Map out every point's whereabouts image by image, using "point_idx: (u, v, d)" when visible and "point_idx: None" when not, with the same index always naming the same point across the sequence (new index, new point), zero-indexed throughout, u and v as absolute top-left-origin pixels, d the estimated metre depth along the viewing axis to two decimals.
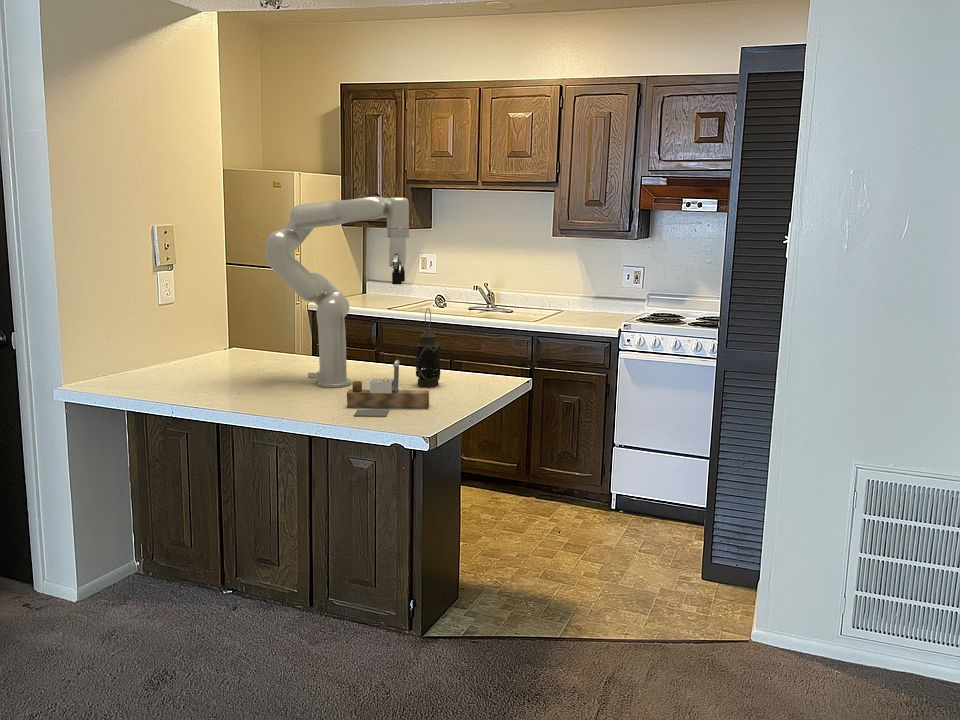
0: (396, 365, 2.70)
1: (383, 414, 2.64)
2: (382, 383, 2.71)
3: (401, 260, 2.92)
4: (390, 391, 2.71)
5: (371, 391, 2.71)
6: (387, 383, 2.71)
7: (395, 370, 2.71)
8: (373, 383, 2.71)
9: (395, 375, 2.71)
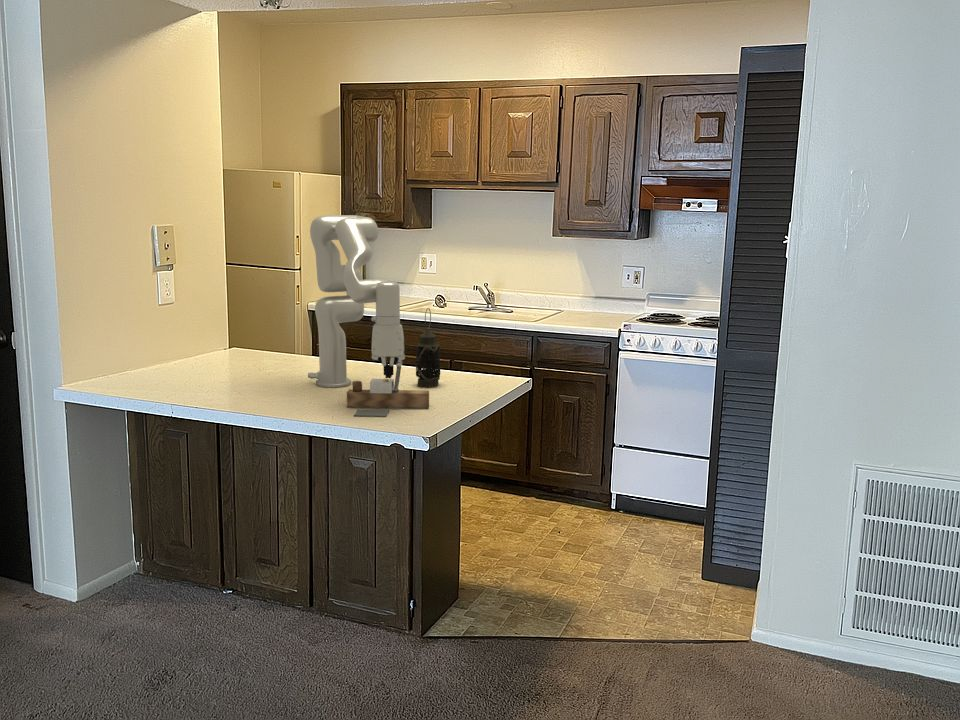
0: (399, 365, 2.70)
1: (383, 414, 2.64)
2: (382, 383, 2.71)
3: None
4: (390, 391, 2.71)
5: (371, 391, 2.71)
6: (387, 383, 2.71)
7: (397, 370, 2.71)
8: (373, 383, 2.71)
9: (396, 375, 2.71)
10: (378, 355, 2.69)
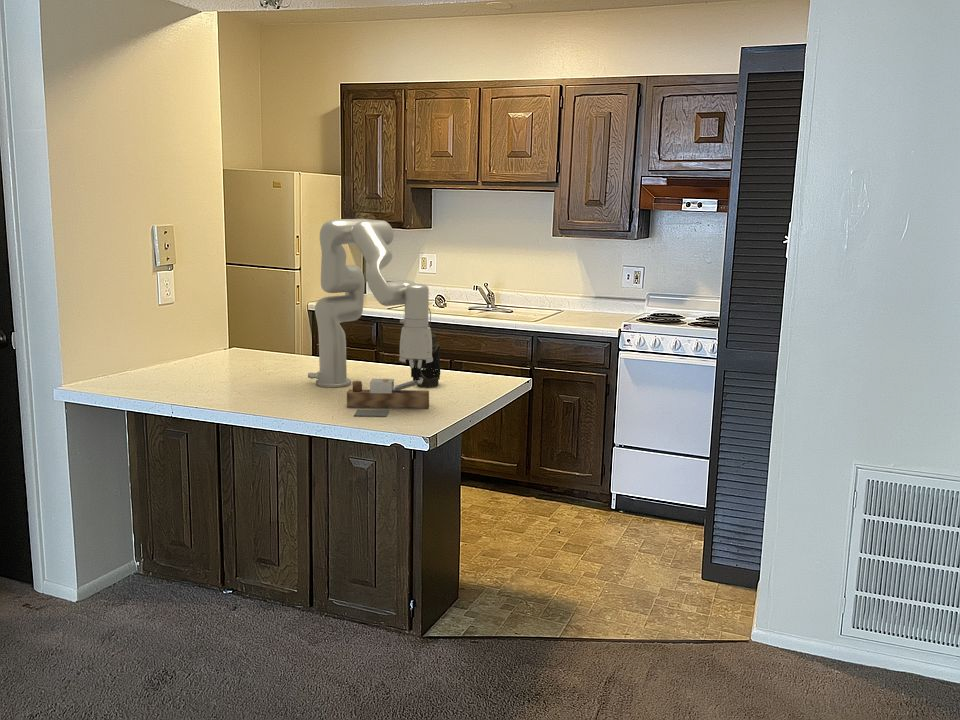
0: (419, 383, 2.71)
1: (383, 414, 2.64)
2: (382, 383, 2.71)
3: None
4: (390, 391, 2.71)
5: (371, 391, 2.71)
6: (387, 383, 2.71)
7: (413, 383, 2.71)
8: (373, 383, 2.71)
9: (408, 385, 2.71)
10: (406, 357, 2.69)
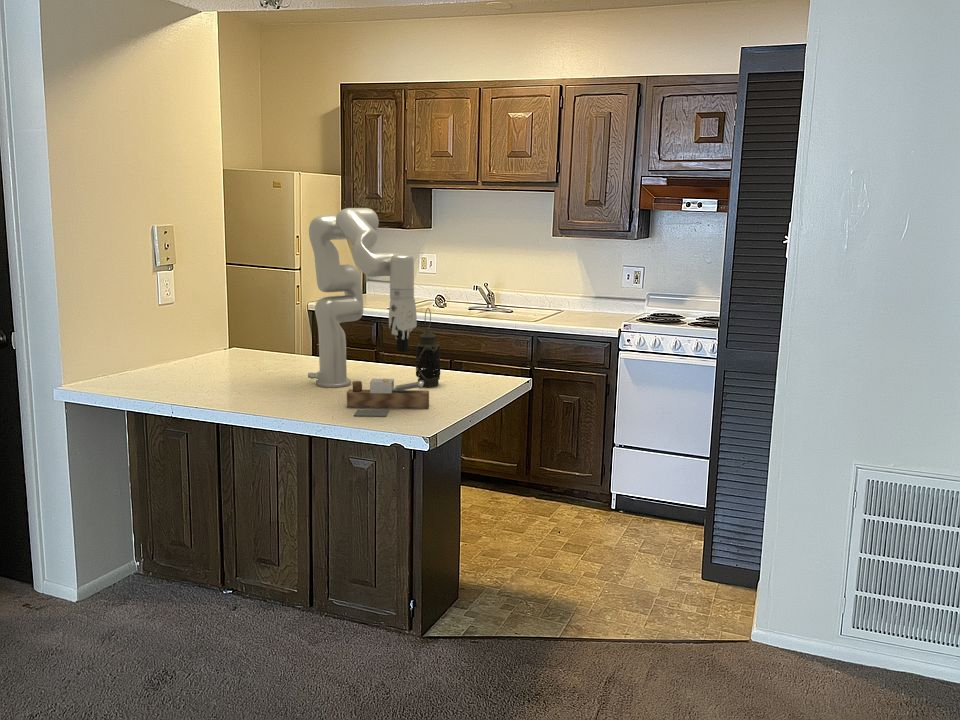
0: (419, 386, 2.71)
1: (383, 414, 2.64)
2: (382, 383, 2.71)
3: None
4: (390, 391, 2.71)
5: (371, 391, 2.71)
6: (387, 383, 2.71)
7: (414, 386, 2.71)
8: (373, 383, 2.71)
9: (409, 387, 2.71)
10: (405, 329, 2.66)
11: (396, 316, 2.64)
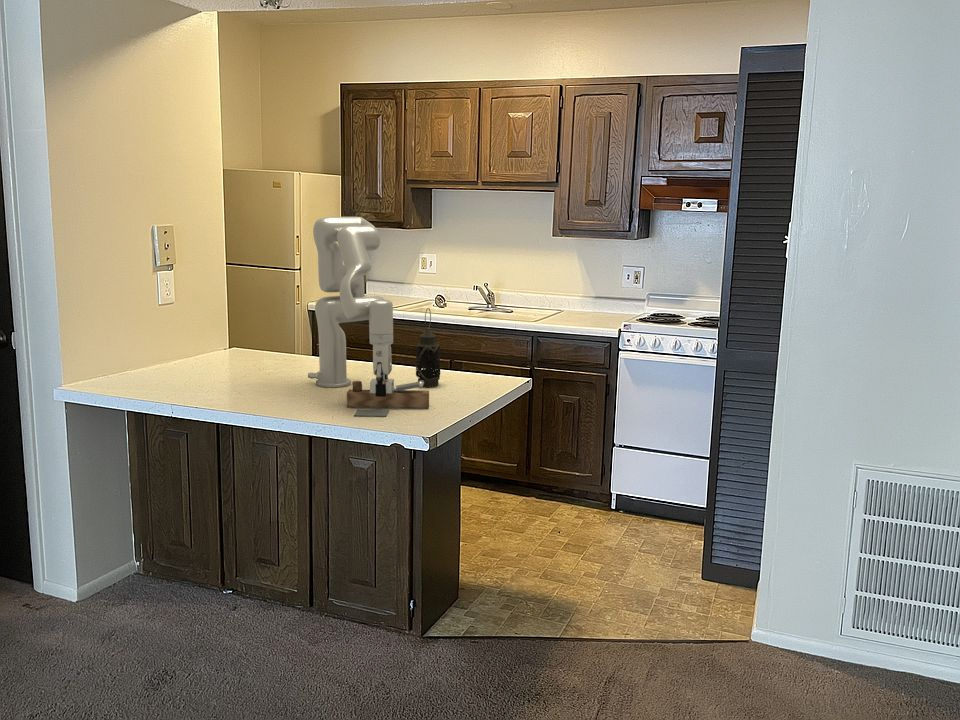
0: (419, 386, 2.71)
1: (383, 414, 2.64)
2: None
3: None
4: (390, 391, 2.71)
5: (371, 391, 2.71)
6: (387, 383, 2.71)
7: (414, 386, 2.71)
8: (373, 383, 2.71)
9: (409, 387, 2.71)
10: (389, 373, 2.70)
11: (382, 361, 2.67)
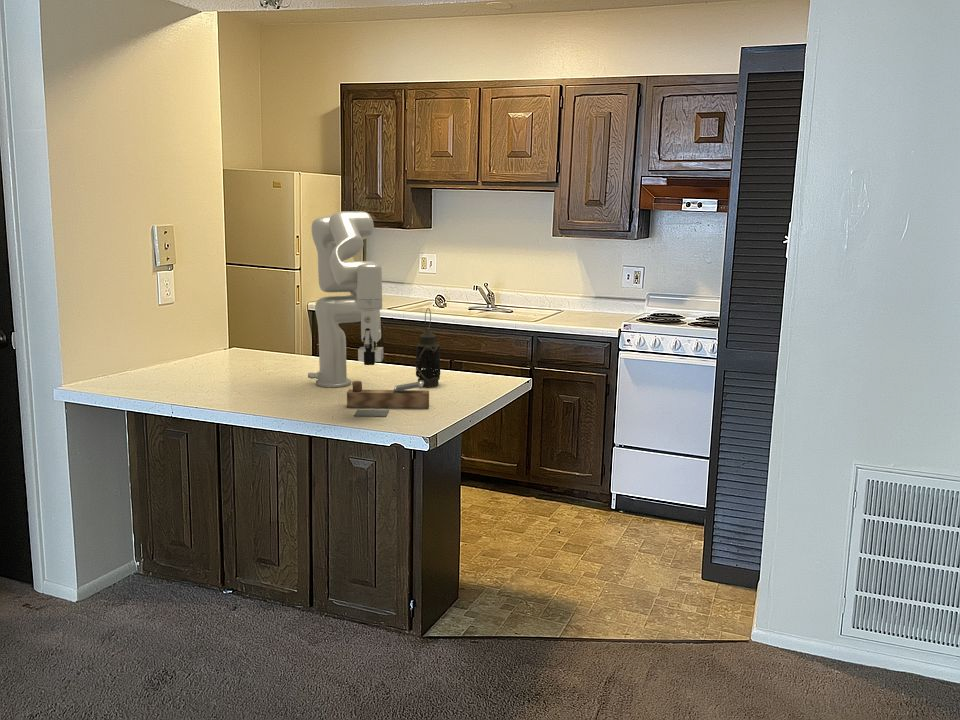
0: (419, 386, 2.71)
1: (383, 414, 2.64)
2: None
3: None
4: (379, 359, 2.60)
5: (359, 359, 2.60)
6: (376, 351, 2.59)
7: (414, 386, 2.71)
8: (361, 351, 2.59)
9: (409, 387, 2.71)
10: (378, 340, 2.58)
11: (371, 327, 2.55)
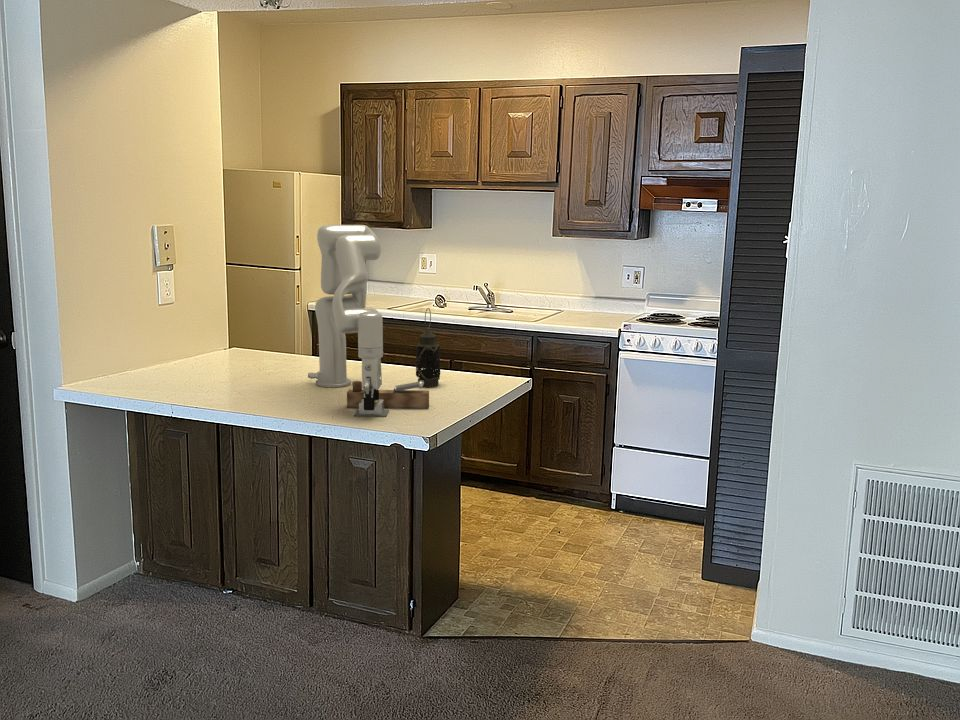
0: (419, 386, 2.71)
1: (383, 414, 2.64)
2: None
3: None
4: (380, 412, 2.63)
5: (360, 412, 2.63)
6: (377, 404, 2.62)
7: (414, 386, 2.71)
8: (362, 404, 2.63)
9: (409, 387, 2.71)
10: (378, 388, 2.61)
11: (371, 375, 2.58)
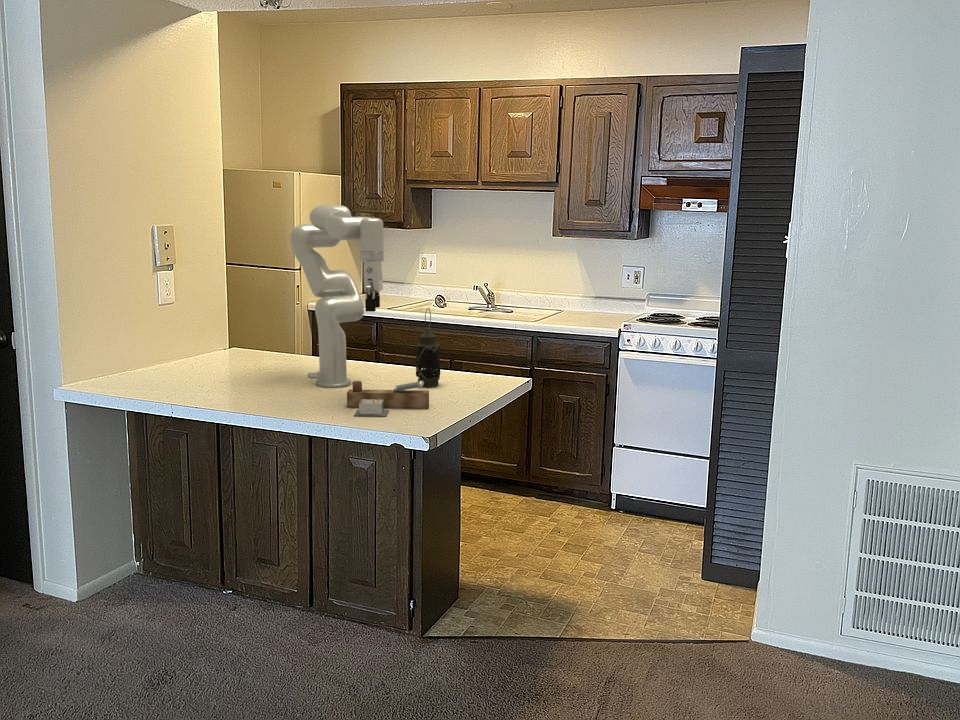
0: (419, 386, 2.71)
1: (383, 414, 2.64)
2: (371, 404, 2.63)
3: None
4: (380, 412, 2.63)
5: (360, 412, 2.63)
6: (377, 404, 2.62)
7: (414, 386, 2.71)
8: (362, 404, 2.63)
9: (409, 387, 2.71)
10: (379, 290, 2.75)
11: (373, 278, 2.72)
